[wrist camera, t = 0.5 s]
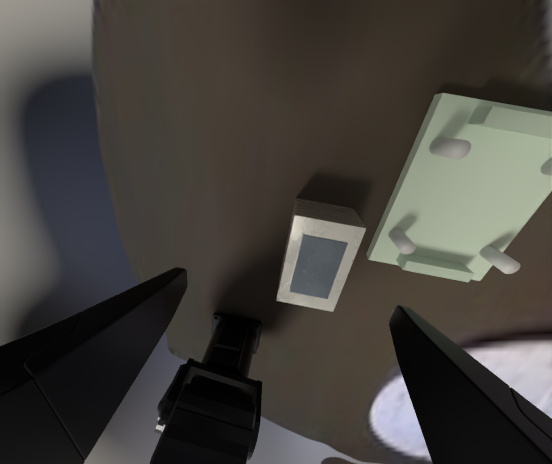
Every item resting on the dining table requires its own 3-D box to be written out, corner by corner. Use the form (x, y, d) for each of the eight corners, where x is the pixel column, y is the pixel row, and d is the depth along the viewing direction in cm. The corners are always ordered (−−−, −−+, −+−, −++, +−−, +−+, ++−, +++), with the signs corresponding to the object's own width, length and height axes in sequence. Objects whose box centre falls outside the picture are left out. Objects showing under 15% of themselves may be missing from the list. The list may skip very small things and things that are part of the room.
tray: (472, 274, 22) (501, 299, 18) (366, 254, 22) (376, 275, 19) (588, 121, 15) (662, 121, 12) (434, 94, 15) (469, 87, 12)
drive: (327, 280, 24) (333, 312, 20) (280, 271, 24) (276, 301, 20) (353, 207, 20) (366, 229, 16) (295, 197, 20) (294, 215, 16)
